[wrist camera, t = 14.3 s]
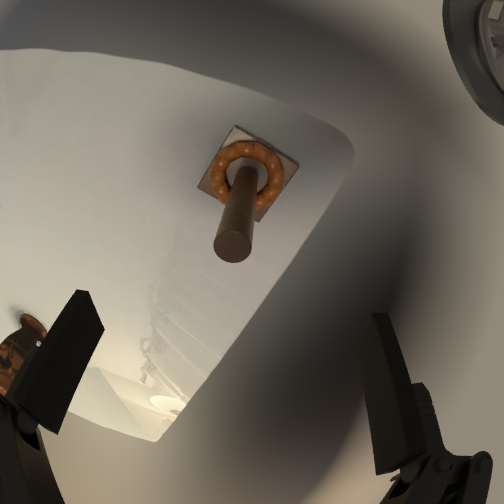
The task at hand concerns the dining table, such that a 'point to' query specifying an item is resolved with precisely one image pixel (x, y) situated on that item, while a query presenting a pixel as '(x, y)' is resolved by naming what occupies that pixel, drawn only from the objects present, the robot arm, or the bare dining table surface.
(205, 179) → the peg stand
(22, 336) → the vase
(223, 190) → the bracelet
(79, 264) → the dining table surface
